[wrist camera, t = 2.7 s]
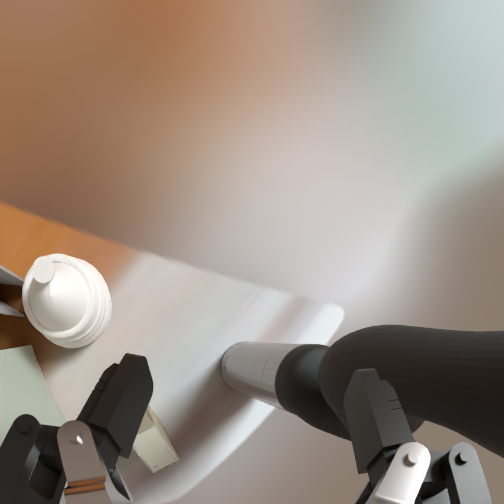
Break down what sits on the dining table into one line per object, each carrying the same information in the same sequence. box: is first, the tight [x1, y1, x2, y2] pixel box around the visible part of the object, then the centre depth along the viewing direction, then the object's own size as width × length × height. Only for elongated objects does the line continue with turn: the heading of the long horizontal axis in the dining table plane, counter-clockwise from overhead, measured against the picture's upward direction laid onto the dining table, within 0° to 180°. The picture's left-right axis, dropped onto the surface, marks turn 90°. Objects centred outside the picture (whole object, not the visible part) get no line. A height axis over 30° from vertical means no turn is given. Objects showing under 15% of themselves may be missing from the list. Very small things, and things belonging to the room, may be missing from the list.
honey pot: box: [22, 254, 112, 348], centre depth 27 cm, size 13×13×18 cm
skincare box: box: [133, 404, 180, 473], centre depth 30 cm, size 6×4×12 cm
